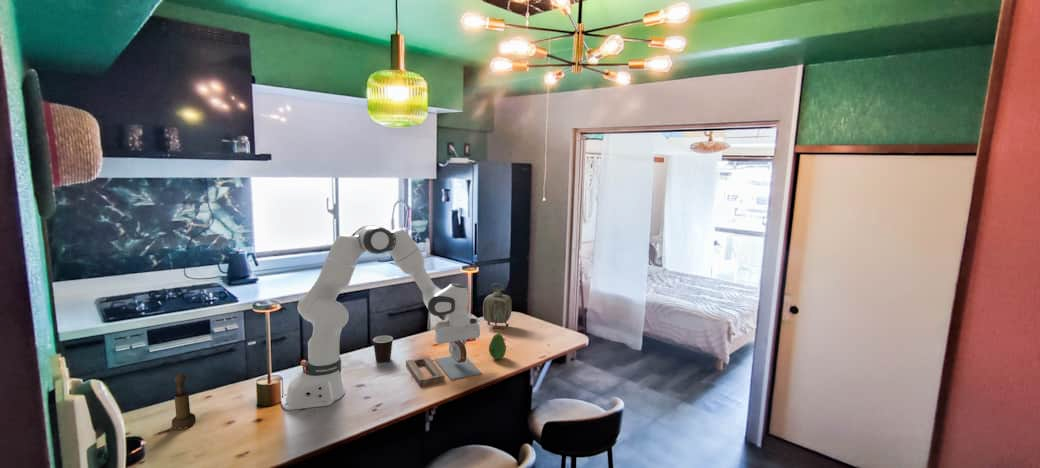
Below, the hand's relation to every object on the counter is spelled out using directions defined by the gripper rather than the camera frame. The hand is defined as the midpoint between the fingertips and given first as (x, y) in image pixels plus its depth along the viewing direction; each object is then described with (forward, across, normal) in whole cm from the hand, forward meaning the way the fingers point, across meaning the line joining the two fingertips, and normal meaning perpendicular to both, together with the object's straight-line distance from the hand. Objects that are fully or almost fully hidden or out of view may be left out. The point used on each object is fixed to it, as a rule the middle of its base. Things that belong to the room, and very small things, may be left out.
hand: (457, 349), depth 212 cm
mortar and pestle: (+8, -100, -4) cm, 100 cm away
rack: (+8, -15, 0) cm, 17 cm away
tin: (+4, -1, 0) cm, 4 cm away
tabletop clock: (+8, +38, +38) cm, 54 cm away
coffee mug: (+8, -27, +22) cm, 36 cm away
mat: (+8, 0, 0) cm, 8 cm away
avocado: (+8, +20, +1) cm, 22 cm away
